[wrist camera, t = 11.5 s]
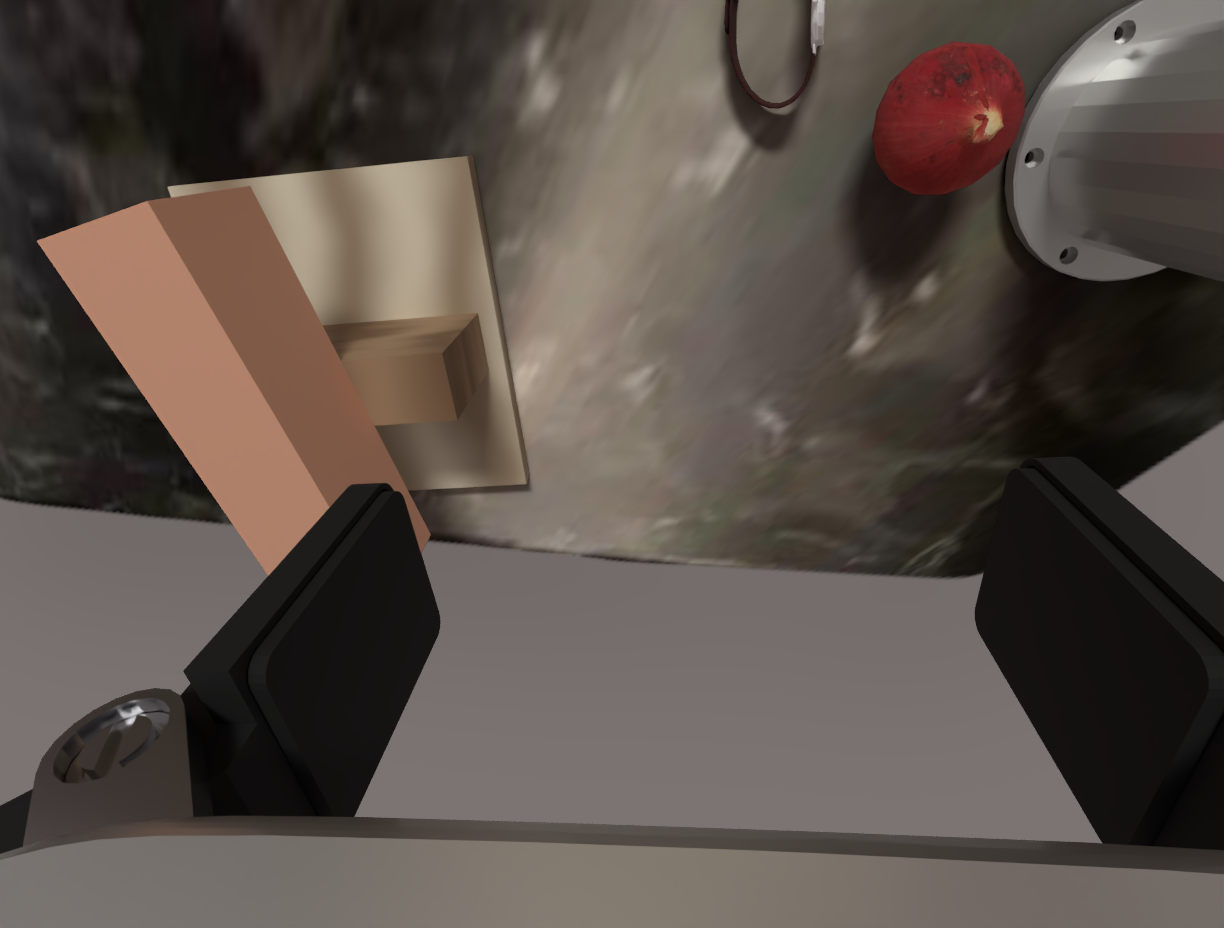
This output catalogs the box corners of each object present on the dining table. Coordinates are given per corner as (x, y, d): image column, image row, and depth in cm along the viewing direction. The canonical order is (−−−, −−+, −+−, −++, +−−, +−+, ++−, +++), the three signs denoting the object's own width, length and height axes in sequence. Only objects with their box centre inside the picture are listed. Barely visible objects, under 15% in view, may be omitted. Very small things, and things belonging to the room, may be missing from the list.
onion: (841, 82, 30) (903, 68, 23) (968, 29, 28) (1074, -2, 21) (863, 204, 32) (924, 226, 25) (979, 161, 31) (1078, 171, 24)
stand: (473, 155, 32) (423, 163, 25) (529, 474, 41) (505, 549, 34) (182, 185, 33) (54, 201, 26) (299, 487, 42) (228, 562, 35)
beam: (250, 185, 25) (147, 201, 20) (431, 534, 33) (391, 610, 28) (158, 218, 26) (36, 240, 21) (357, 551, 34) (305, 628, 29)
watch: (818, 103, 30) (839, 100, 27) (722, 115, 31) (731, 113, 28) (828, -102, 27) (853, -133, 23) (718, -86, 27) (728, -114, 24)
